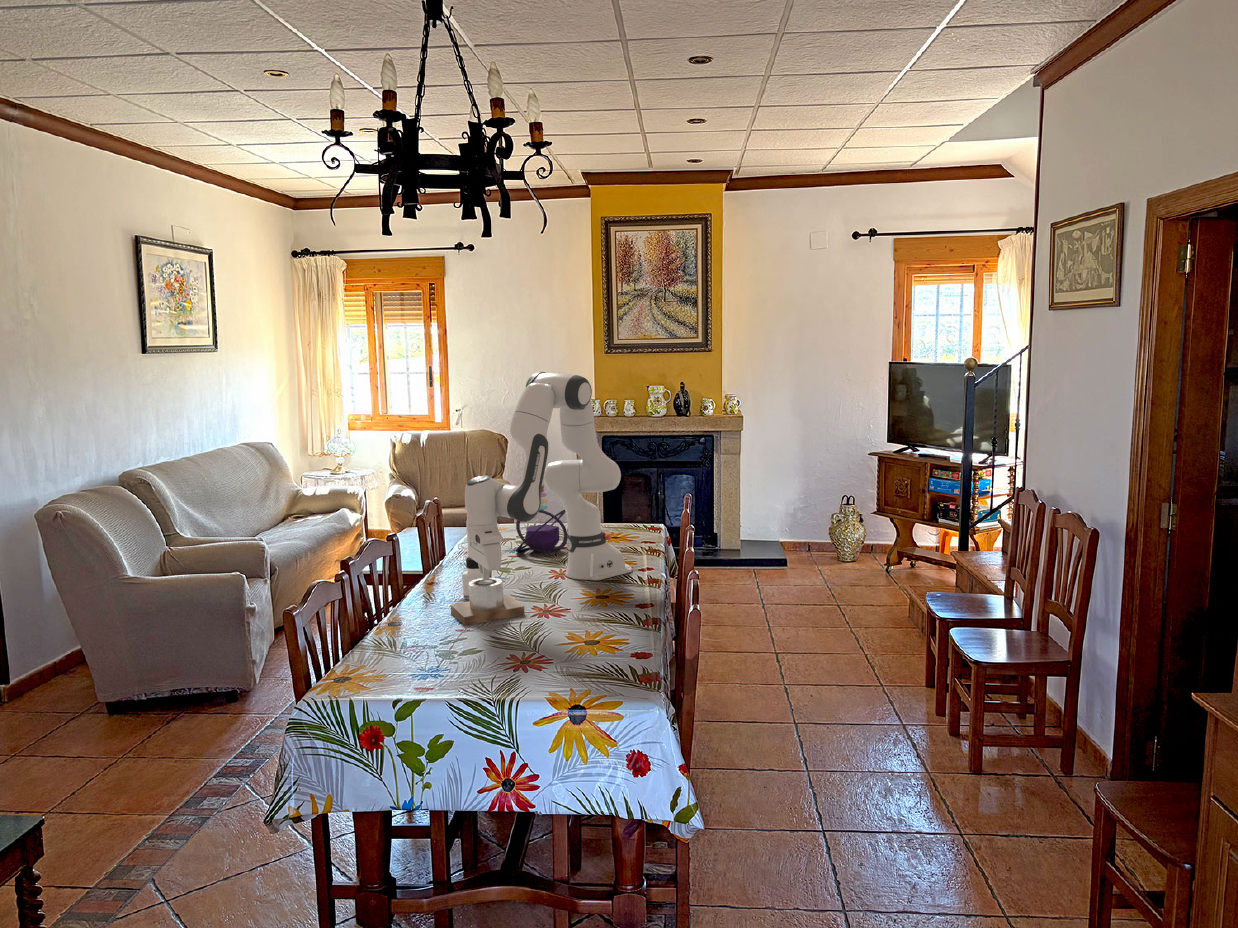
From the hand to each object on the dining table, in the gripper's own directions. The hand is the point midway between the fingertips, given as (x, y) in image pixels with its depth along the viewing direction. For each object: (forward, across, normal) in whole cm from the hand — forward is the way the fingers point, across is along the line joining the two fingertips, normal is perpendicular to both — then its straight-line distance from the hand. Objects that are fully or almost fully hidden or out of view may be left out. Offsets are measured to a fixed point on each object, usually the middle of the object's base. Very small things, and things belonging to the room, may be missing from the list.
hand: (485, 578), depth 258 cm
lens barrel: (+8, 0, 0) cm, 8 cm away
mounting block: (+11, 0, 0) cm, 11 cm away
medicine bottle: (+11, -22, +4) cm, 25 cm away
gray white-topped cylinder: (+7, 0, 0) cm, 7 cm away
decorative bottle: (+10, -62, +42) cm, 76 cm away
